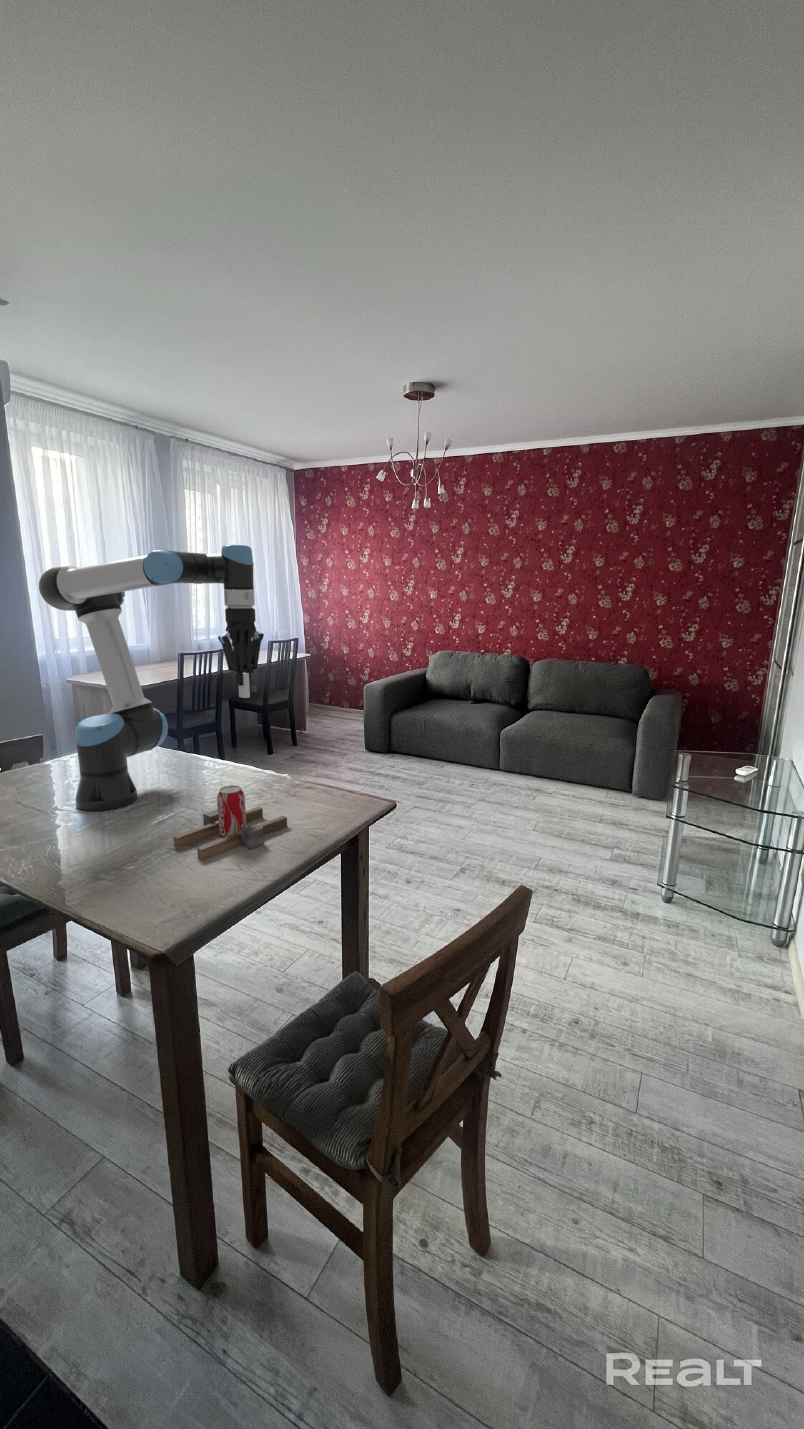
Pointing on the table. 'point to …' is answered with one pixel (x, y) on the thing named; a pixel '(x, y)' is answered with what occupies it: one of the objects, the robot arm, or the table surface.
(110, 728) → the robot arm
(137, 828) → the table surface
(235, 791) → the beverage can
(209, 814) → the wooden bars with blocks
